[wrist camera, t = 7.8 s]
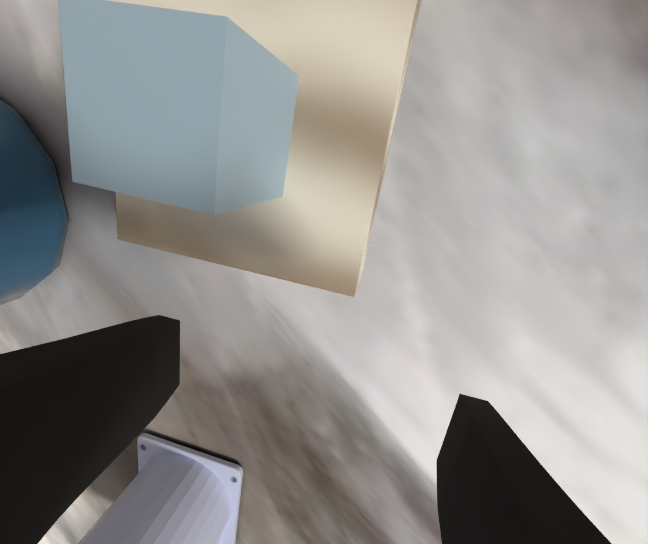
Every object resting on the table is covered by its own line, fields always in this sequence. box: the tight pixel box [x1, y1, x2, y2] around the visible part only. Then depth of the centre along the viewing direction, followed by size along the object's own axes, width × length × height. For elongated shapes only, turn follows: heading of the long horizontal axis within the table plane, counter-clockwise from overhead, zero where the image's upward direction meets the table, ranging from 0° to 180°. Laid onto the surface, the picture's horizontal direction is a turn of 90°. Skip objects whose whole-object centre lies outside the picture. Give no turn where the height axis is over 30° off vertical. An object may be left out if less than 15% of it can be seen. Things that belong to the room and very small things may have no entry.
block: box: [58, 0, 299, 215], centre depth 11 cm, size 4×4×6 cm
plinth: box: [107, 0, 421, 297], centre depth 15 cm, size 12×12×2 cm
